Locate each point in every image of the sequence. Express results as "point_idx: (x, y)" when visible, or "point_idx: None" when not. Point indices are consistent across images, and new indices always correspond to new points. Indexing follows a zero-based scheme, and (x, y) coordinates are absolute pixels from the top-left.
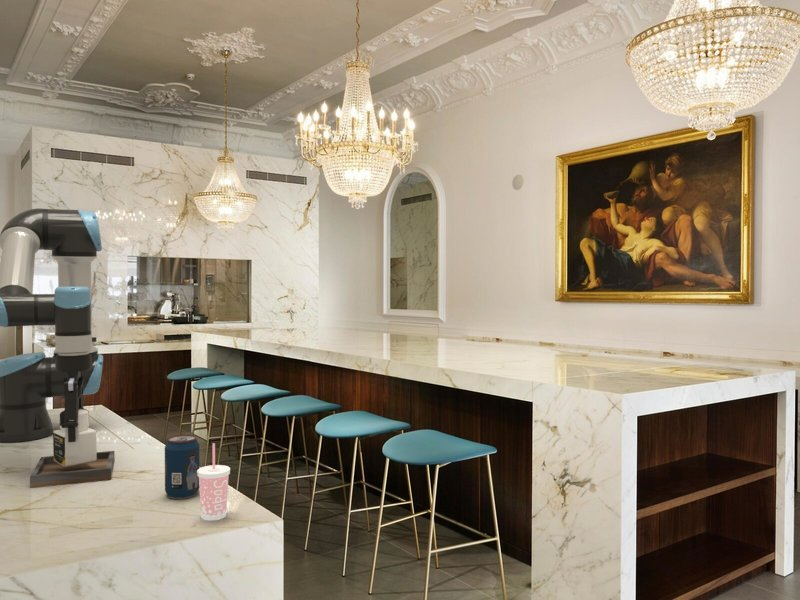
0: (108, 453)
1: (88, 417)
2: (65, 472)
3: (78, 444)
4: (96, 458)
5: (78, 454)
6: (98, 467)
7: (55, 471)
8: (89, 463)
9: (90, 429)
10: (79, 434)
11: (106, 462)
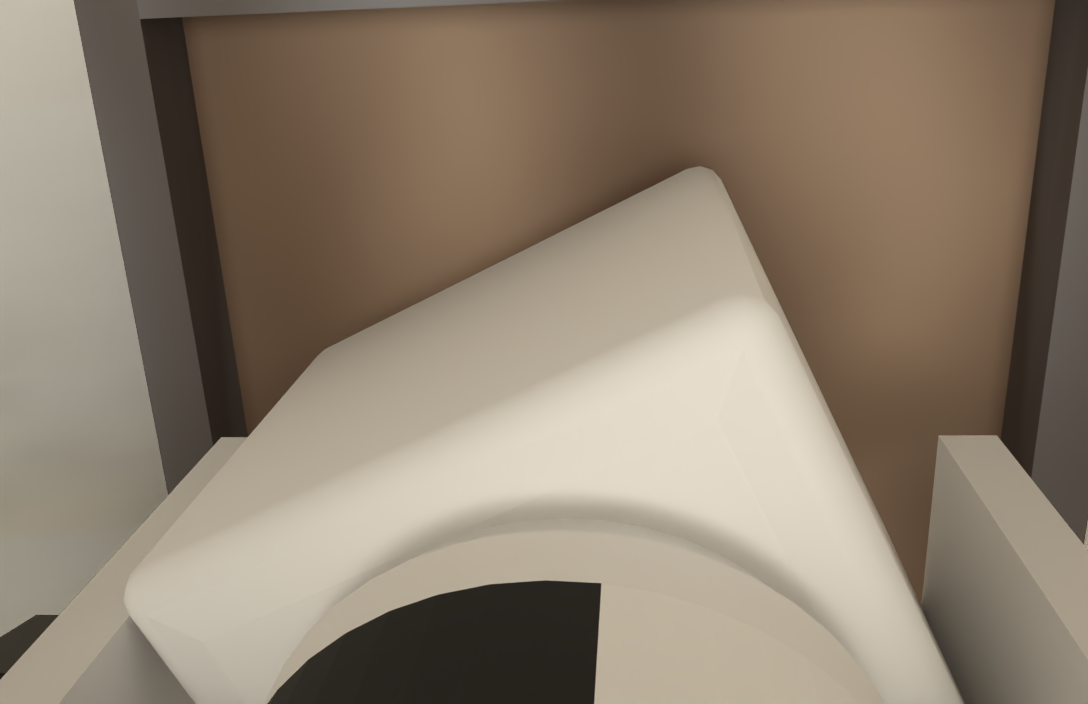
0: (154, 37)
1: (613, 701)
2: (1070, 498)
3: (1072, 537)
4: (704, 169)
5: (999, 449)
6: (637, 126)
7: None
8: (396, 260)
9: (663, 450)
10: (918, 628)
11: (404, 41)
